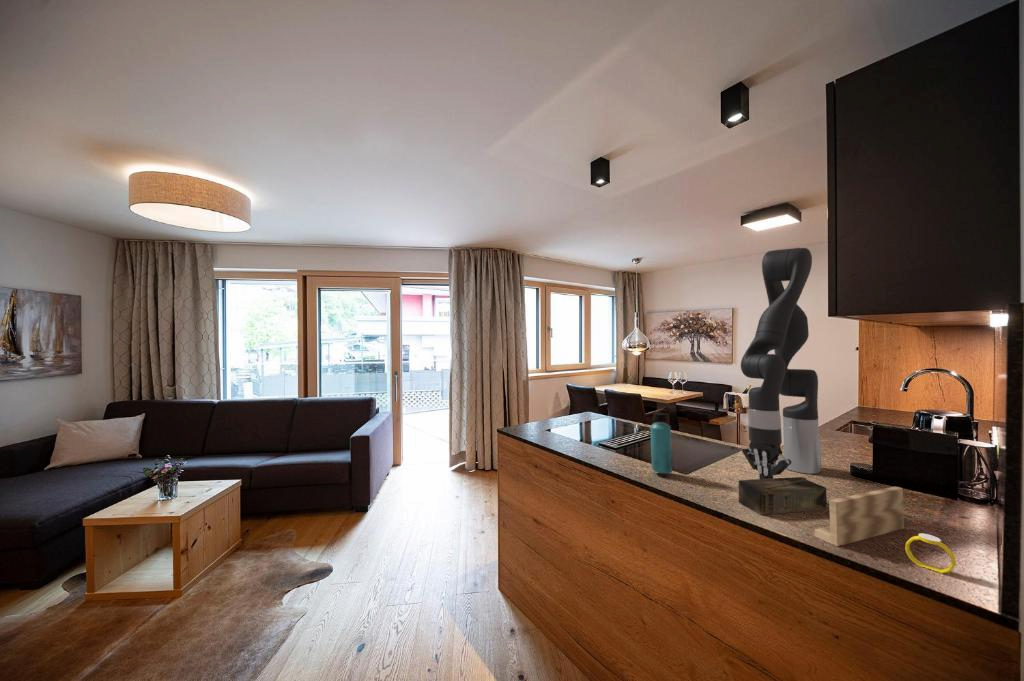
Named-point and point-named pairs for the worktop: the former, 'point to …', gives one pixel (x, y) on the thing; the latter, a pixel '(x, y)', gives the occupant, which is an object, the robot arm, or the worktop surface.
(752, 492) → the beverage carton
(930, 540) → the watch
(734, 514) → the worktop surface
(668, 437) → the beverage bottle
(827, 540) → the stand
